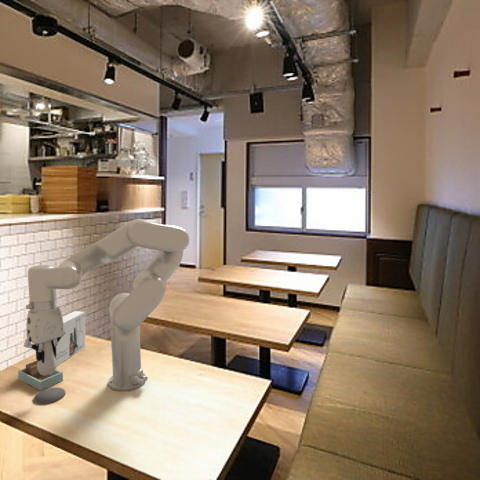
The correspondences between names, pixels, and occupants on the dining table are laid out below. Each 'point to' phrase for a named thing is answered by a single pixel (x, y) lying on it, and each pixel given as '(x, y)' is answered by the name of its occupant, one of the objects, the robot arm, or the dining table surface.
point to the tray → (39, 384)
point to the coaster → (49, 395)
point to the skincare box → (71, 336)
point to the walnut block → (33, 370)
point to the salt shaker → (47, 360)
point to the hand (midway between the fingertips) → (46, 359)
